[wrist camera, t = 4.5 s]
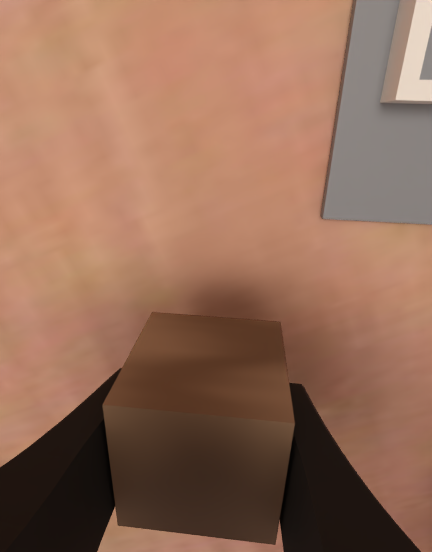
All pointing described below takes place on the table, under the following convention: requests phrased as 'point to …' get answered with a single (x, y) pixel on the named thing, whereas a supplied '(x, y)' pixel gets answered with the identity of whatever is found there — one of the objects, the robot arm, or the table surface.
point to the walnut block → (202, 428)
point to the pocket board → (384, 117)
